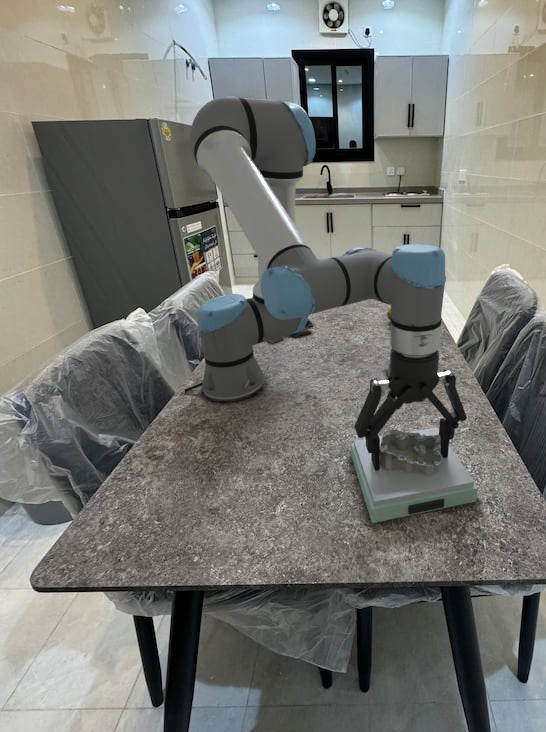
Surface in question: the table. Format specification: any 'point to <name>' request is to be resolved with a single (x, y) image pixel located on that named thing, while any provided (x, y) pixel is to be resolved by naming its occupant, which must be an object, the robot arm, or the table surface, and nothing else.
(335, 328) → the table surface
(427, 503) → the scale
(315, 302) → the robot arm
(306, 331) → the cloth
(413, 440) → the egg carton
